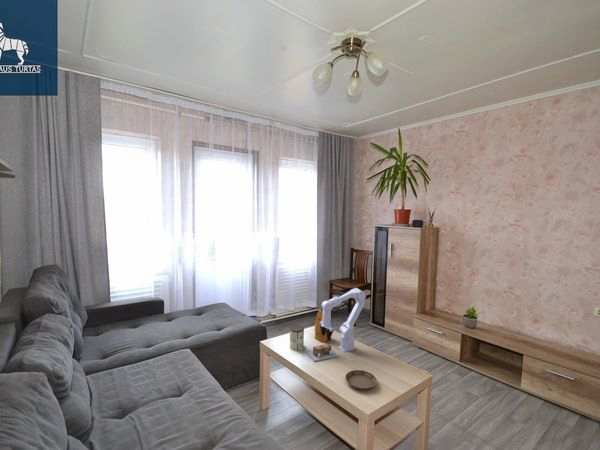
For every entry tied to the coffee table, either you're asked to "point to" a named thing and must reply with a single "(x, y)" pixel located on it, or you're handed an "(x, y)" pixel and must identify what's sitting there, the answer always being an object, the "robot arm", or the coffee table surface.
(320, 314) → the coffee package
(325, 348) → the walnut bar
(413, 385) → the coffee table surface
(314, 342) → the coffee table surface
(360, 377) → the plant saucer
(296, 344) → the coffee can
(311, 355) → the peg board
